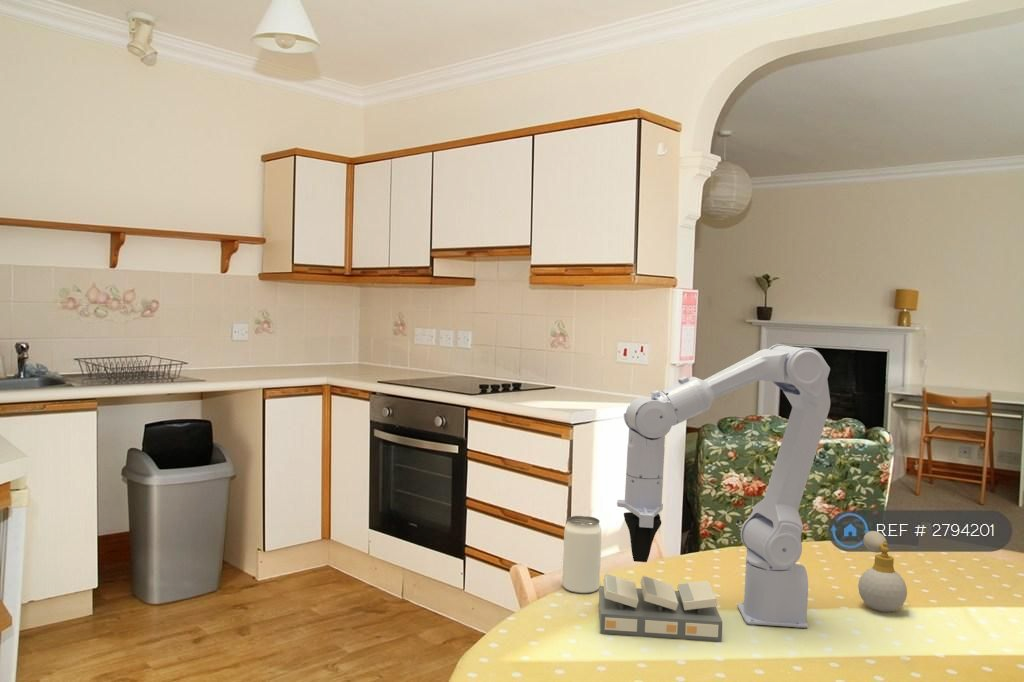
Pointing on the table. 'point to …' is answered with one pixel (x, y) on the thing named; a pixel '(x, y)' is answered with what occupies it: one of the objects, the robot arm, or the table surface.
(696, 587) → the rocker
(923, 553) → the table surface
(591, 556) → the can
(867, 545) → the perfume bottle
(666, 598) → the rocker mid
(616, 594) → the rocker
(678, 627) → the switch box
